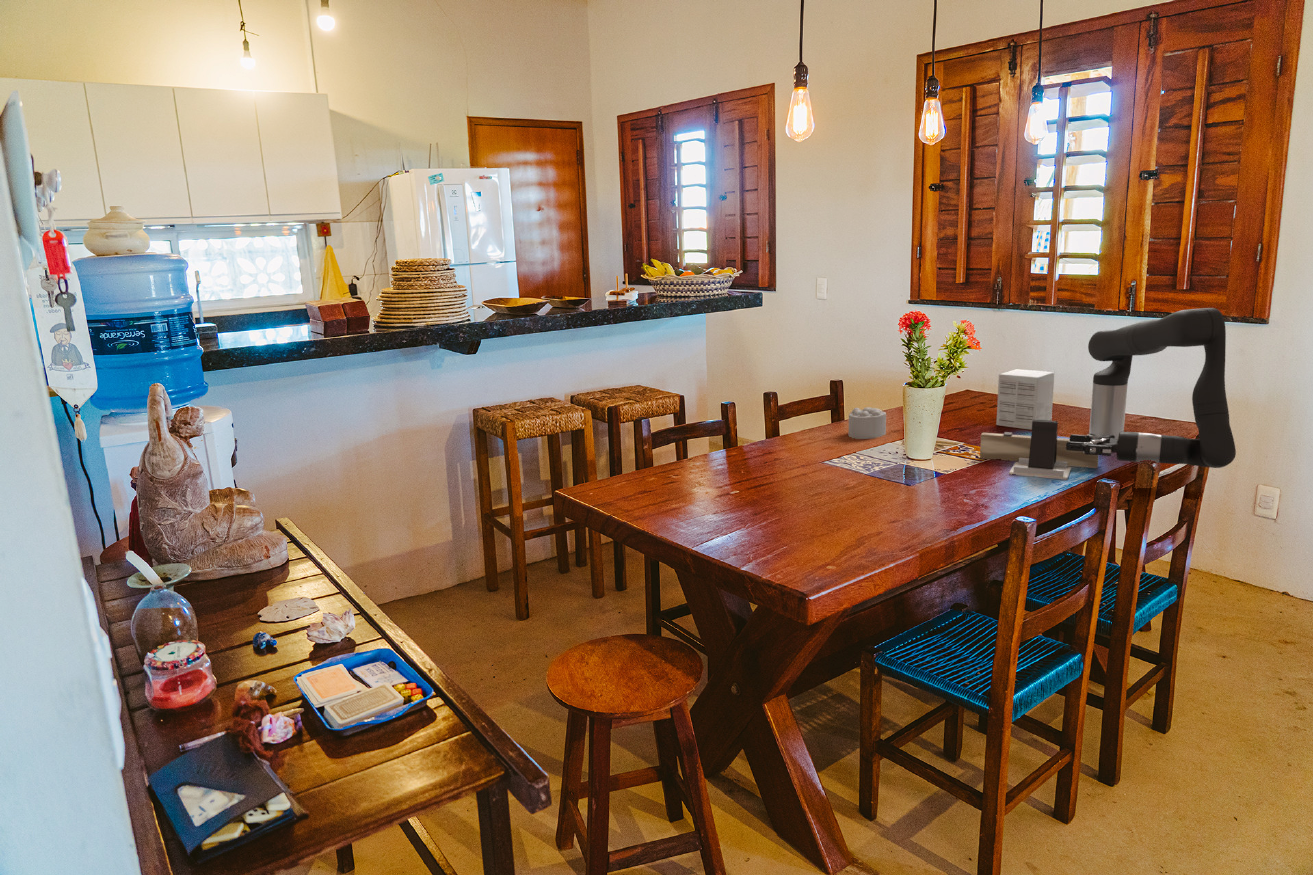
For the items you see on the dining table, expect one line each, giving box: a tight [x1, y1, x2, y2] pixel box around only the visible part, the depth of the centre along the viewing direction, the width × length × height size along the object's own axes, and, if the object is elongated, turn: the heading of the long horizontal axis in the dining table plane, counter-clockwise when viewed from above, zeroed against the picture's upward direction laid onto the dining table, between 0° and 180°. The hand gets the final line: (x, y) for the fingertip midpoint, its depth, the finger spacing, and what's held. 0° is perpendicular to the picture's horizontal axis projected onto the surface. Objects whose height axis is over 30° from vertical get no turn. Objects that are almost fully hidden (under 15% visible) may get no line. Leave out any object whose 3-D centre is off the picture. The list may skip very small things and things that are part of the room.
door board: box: [979, 431, 1100, 469], centre depth 230 cm, size 3×30×8 cm, turn 59°
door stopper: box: [1028, 420, 1059, 469], centre depth 220 cm, size 9×6×12 cm, turn 149°
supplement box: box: [995, 368, 1055, 431], centre depth 274 cm, size 13×13×18 cm
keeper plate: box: [1008, 458, 1072, 481], centre depth 222 cm, size 11×14×2 cm
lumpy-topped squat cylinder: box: [848, 406, 887, 440], centre depth 271 cm, size 10×13×9 cm
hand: (1068, 442), depth 217 cm, fingers open, 8 cm apart
